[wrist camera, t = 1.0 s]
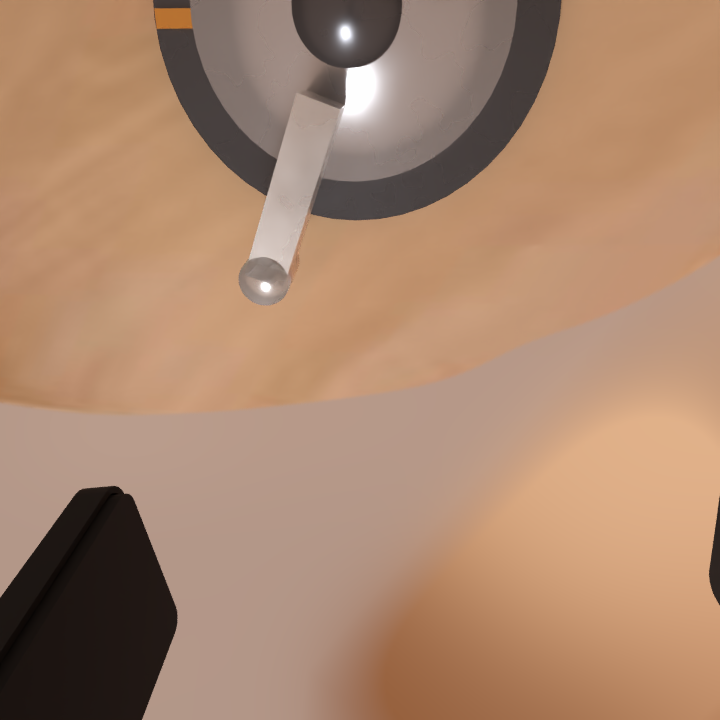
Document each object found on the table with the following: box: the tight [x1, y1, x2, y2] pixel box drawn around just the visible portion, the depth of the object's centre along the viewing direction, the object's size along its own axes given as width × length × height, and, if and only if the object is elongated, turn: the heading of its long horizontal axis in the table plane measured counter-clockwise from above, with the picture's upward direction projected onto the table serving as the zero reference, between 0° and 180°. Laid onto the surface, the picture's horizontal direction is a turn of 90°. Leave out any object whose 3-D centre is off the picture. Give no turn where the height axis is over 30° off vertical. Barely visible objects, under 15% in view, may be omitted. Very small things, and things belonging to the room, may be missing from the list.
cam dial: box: [190, 0, 517, 305], centre depth 23 cm, size 17×12×4 cm
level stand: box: [153, 0, 561, 220], centre depth 24 cm, size 16×16×1 cm
